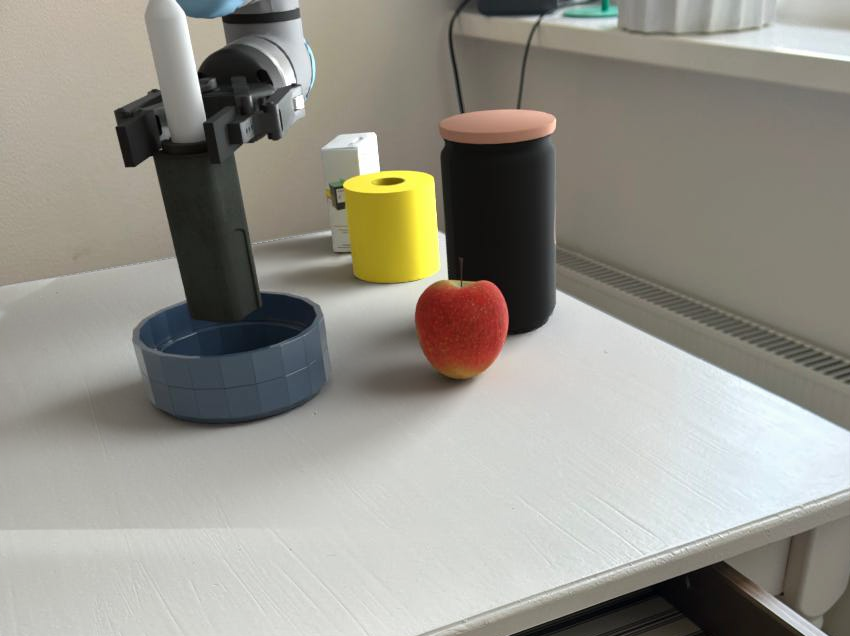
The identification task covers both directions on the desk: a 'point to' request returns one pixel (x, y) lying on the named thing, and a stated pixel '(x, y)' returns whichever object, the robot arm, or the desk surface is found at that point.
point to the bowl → (234, 360)
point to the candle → (198, 184)
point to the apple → (461, 325)
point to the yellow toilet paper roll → (392, 226)
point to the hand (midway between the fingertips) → (168, 145)
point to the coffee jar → (503, 207)
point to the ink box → (346, 177)
